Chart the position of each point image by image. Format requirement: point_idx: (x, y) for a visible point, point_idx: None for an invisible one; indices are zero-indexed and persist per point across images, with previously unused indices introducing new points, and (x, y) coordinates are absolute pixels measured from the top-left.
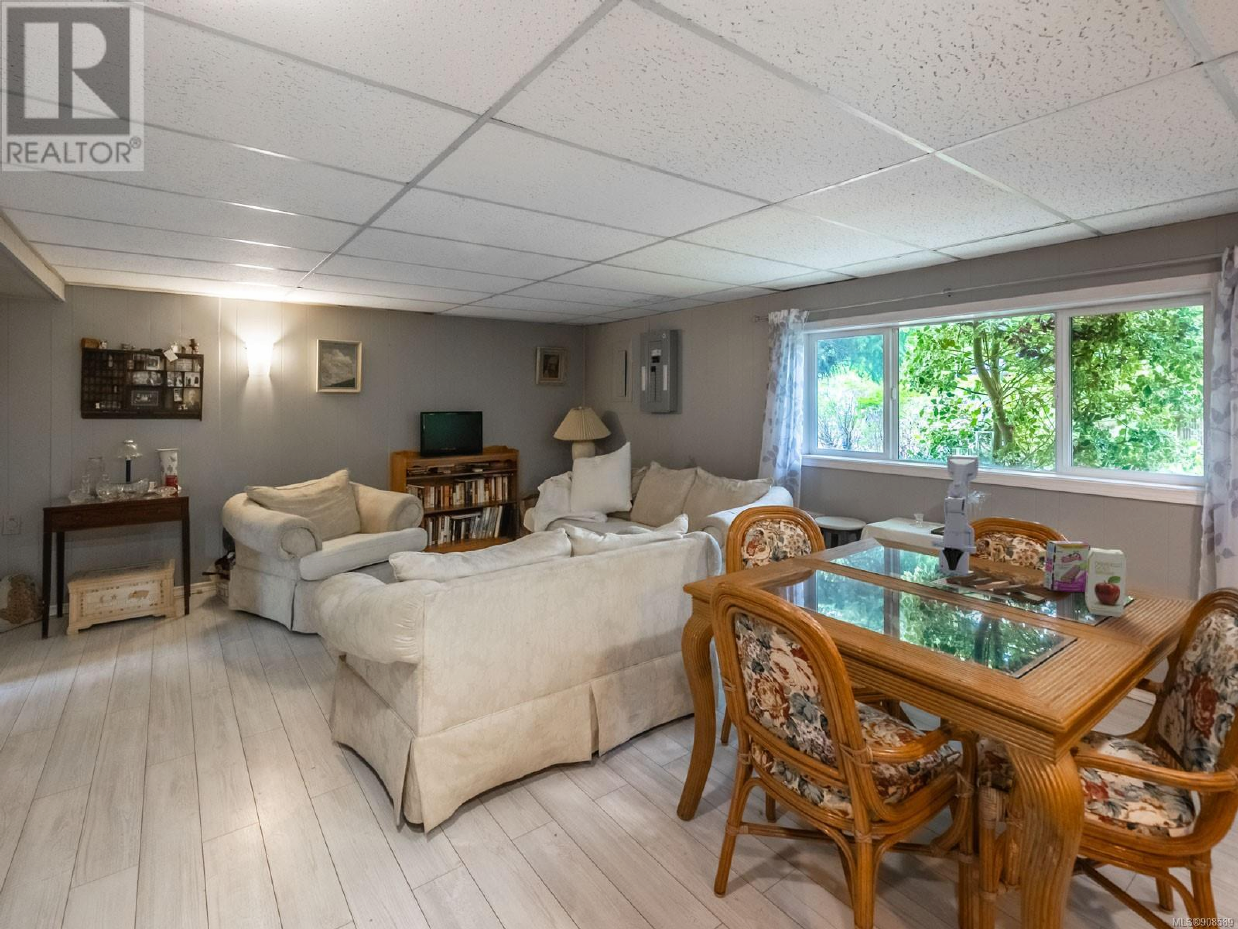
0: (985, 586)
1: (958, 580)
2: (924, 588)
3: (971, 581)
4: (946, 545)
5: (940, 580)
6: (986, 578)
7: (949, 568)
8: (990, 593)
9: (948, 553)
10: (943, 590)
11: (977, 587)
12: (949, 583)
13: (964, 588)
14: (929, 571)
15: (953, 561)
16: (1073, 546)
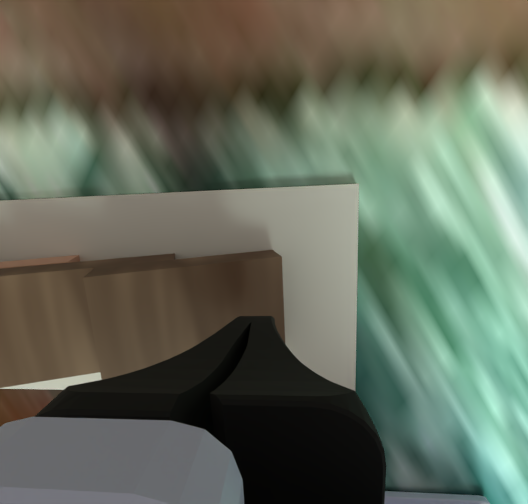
0: (2, 265)
1: (182, 260)
2: (308, 6)
3: (83, 267)
4: (88, 495)
5: (335, 276)
6: (5, 347)
7: (265, 318)
8: (4, 253)
9: (224, 388)
10: (203, 90)
11: (65, 258)
12: None
13: (137, 224)
14: (516, 451)
15: (195, 348)
16: None
